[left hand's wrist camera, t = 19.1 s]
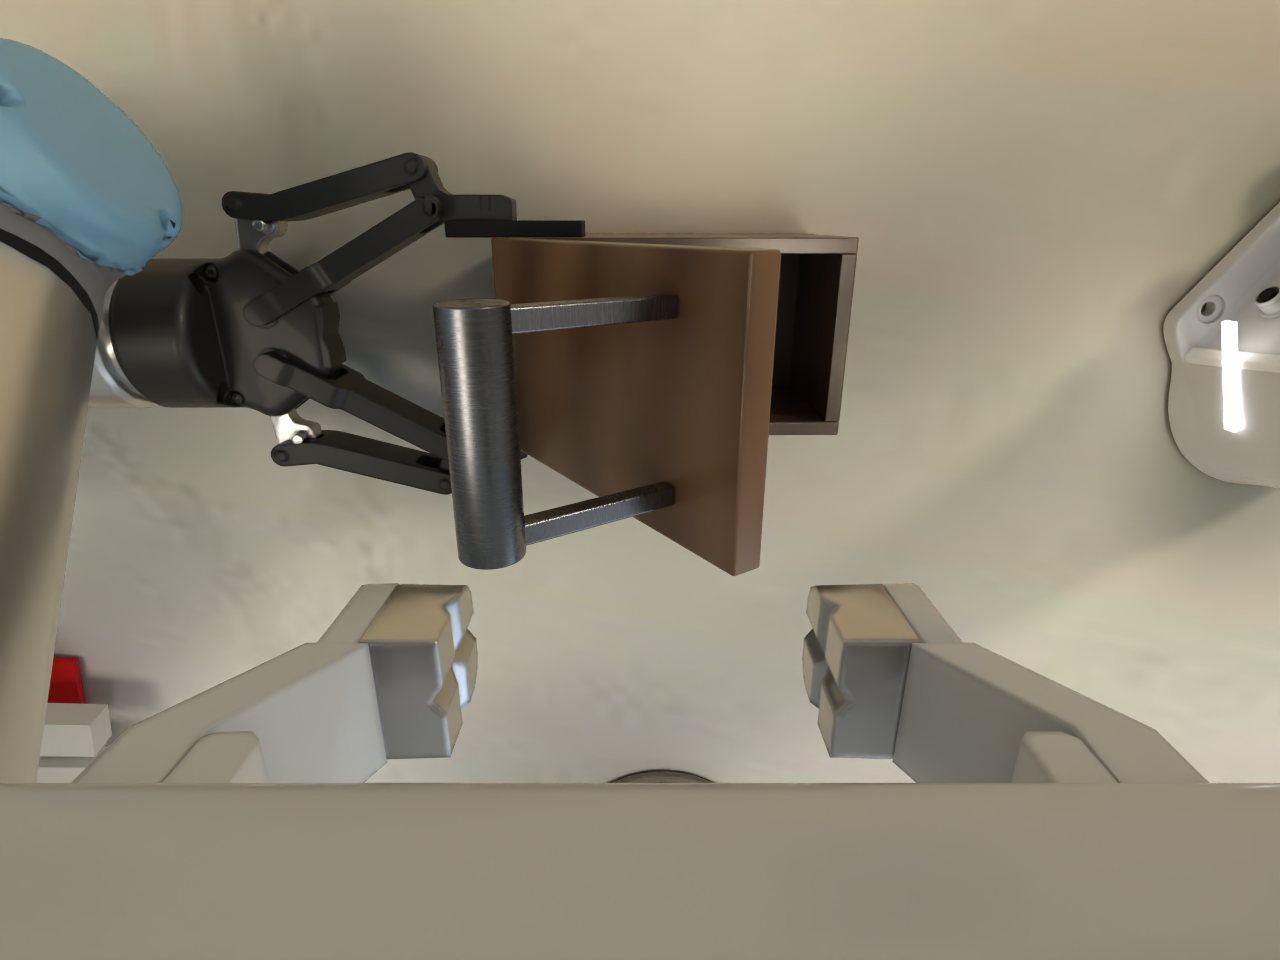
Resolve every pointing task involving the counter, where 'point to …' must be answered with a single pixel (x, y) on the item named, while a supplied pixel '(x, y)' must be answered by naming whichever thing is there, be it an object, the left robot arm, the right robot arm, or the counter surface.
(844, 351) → the chest
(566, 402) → the lid
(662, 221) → the counter surface
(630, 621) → the counter surface
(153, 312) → the right robot arm
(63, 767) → the toy
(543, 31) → the counter surface
